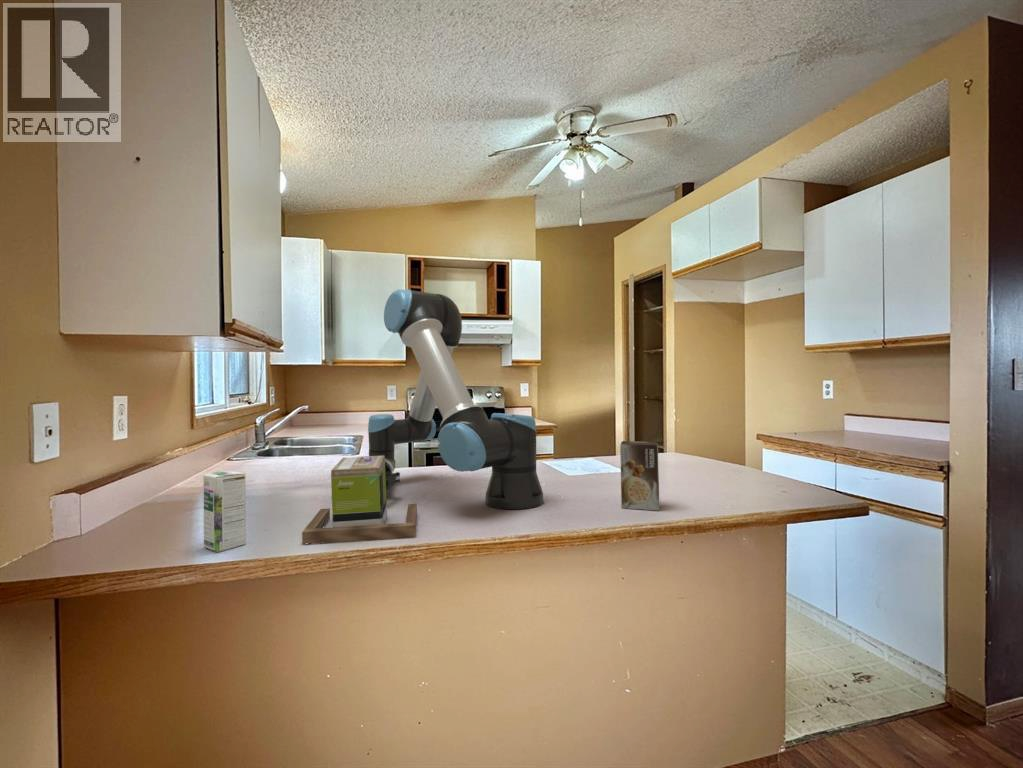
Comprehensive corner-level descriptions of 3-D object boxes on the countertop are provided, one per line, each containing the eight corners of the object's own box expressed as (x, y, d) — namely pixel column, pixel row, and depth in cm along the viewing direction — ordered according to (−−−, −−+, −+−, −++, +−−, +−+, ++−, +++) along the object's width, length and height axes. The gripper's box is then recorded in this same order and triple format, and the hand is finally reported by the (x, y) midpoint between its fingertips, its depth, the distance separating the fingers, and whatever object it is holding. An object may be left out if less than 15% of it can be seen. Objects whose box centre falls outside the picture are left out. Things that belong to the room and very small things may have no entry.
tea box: (343, 519, 115) (342, 456, 115) (387, 516, 117) (386, 454, 117) (331, 540, 100) (330, 467, 100) (382, 536, 102) (381, 465, 102)
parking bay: (416, 514, 119) (416, 503, 119) (415, 537, 101) (415, 525, 101) (320, 519, 115) (320, 508, 115) (302, 544, 98) (302, 532, 98)
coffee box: (660, 504, 125) (659, 441, 124) (659, 511, 119) (658, 444, 118) (623, 502, 128) (622, 440, 127) (620, 508, 122) (619, 443, 121)
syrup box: (202, 547, 97) (200, 474, 97) (233, 539, 102) (231, 469, 101) (217, 553, 94) (215, 477, 93) (248, 544, 99) (246, 471, 98)
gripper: (402, 484, 141) (397, 506, 117) (354, 486, 139) (340, 509, 115) (401, 458, 141) (396, 475, 117) (354, 460, 138) (339, 477, 115)
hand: (368, 492), depth 116 cm, fingers closed
